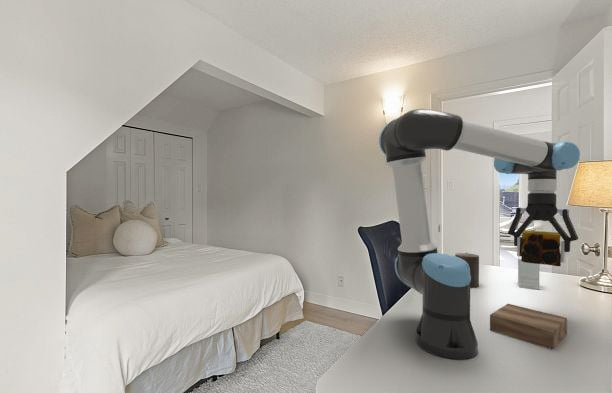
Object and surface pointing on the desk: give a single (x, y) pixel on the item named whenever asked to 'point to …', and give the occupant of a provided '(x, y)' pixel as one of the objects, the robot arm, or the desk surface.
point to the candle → (541, 247)
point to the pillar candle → (471, 267)
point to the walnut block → (529, 325)
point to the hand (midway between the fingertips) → (540, 258)
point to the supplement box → (528, 275)
